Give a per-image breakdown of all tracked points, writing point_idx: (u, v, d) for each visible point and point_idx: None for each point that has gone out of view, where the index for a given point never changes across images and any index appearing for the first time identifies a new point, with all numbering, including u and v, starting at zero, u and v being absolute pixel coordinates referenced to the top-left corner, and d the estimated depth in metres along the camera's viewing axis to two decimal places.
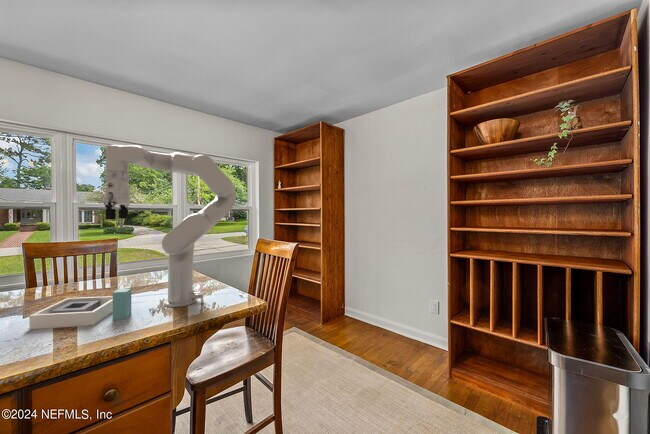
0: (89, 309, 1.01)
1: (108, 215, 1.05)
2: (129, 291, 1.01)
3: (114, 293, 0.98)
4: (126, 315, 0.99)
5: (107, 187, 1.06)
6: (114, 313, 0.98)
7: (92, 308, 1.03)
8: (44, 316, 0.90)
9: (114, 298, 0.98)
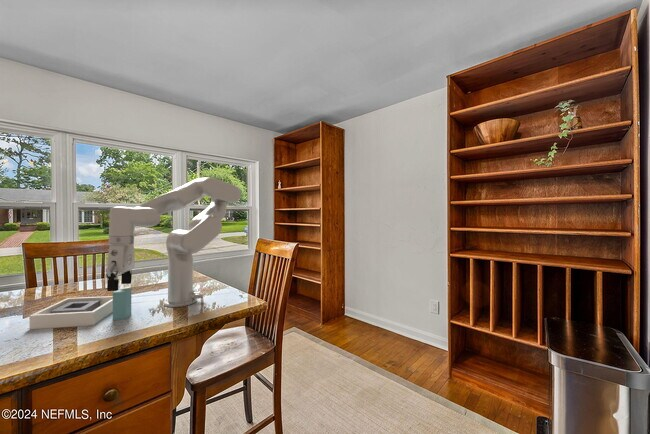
0: (89, 309, 1.01)
1: (110, 287, 0.94)
2: (129, 291, 1.01)
3: (114, 293, 0.98)
4: (126, 315, 0.99)
5: (110, 255, 0.95)
6: (114, 313, 0.98)
7: (92, 308, 1.03)
8: (44, 316, 0.90)
9: (114, 298, 0.98)
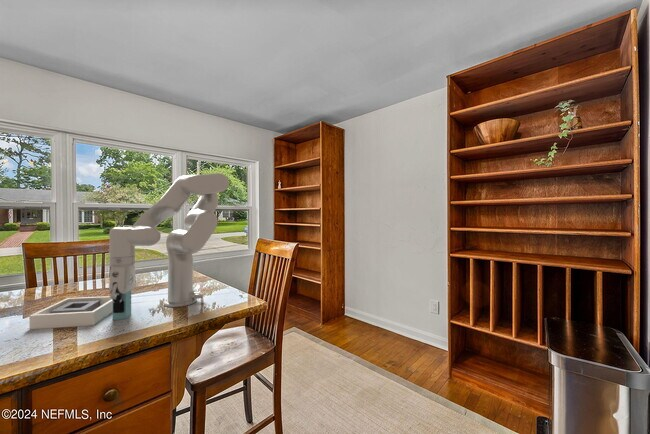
0: (89, 309, 1.01)
1: (116, 309, 0.97)
2: (129, 291, 1.01)
3: None
4: (126, 315, 0.99)
5: (111, 277, 0.95)
6: (114, 313, 0.98)
7: (92, 308, 1.03)
8: (44, 316, 0.90)
9: None
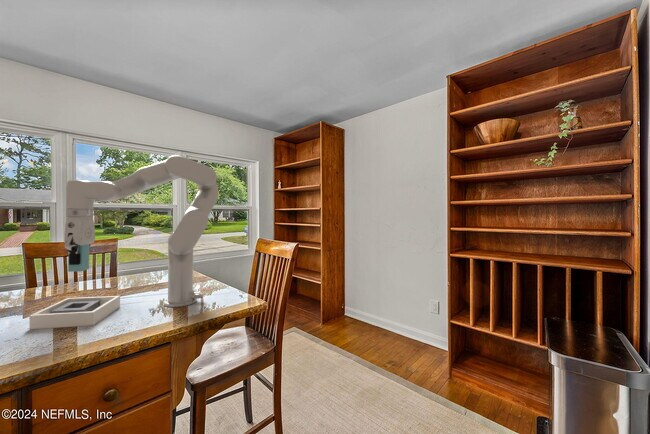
0: (89, 309, 1.01)
1: (72, 260, 0.97)
2: (86, 245, 1.02)
3: None
4: (82, 268, 1.00)
5: (67, 227, 0.95)
6: (70, 265, 0.98)
7: (92, 308, 1.03)
8: (44, 316, 0.90)
9: None
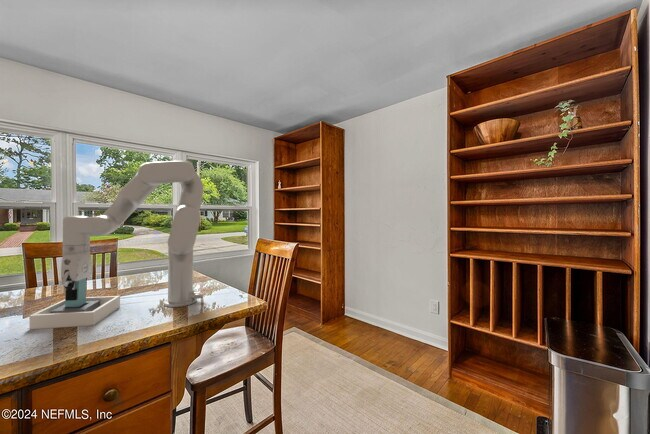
0: (89, 309, 1.01)
1: (68, 296, 0.98)
2: (83, 279, 1.02)
3: None
4: (79, 303, 1.00)
5: (63, 264, 0.96)
6: None
7: (92, 308, 1.03)
8: (44, 316, 0.90)
9: None
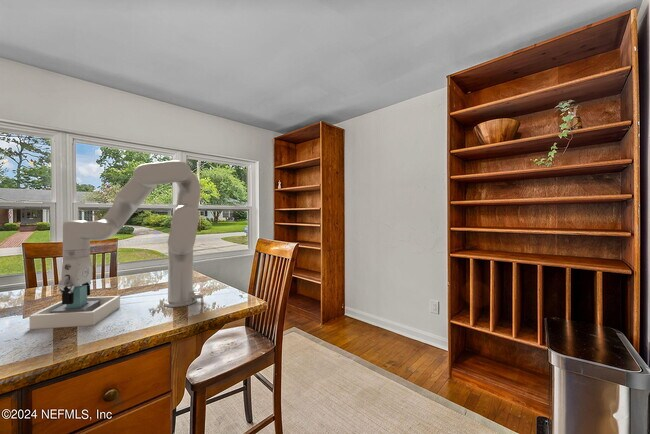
0: (89, 309, 1.01)
1: (65, 300, 0.96)
2: (84, 287, 1.02)
3: None
4: None
5: (63, 269, 0.96)
6: None
7: (92, 308, 1.03)
8: (44, 316, 0.90)
9: None
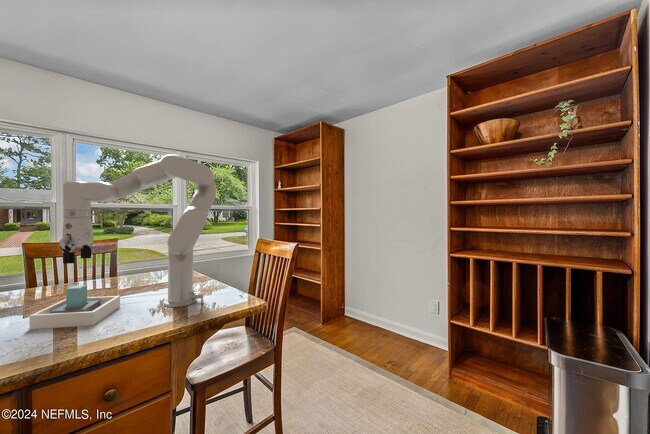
0: (89, 309, 1.01)
1: (66, 259, 0.95)
2: (84, 287, 1.02)
3: (68, 289, 0.99)
4: None
5: (64, 228, 0.96)
6: None
7: (92, 308, 1.03)
8: (44, 316, 0.90)
9: (68, 294, 0.99)
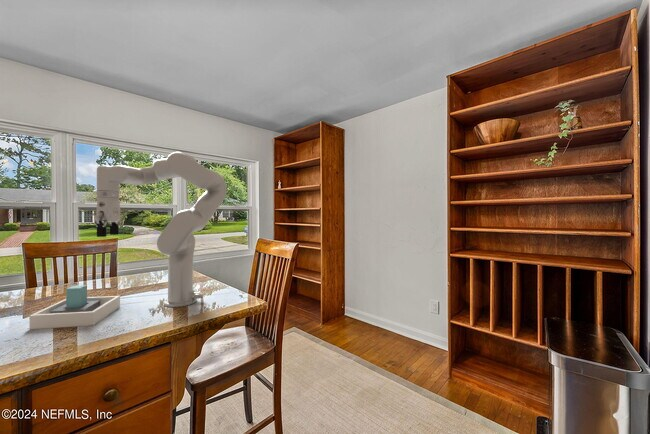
0: (89, 309, 1.01)
1: (99, 233, 1.10)
2: (84, 287, 1.02)
3: (68, 289, 0.99)
4: None
5: (98, 206, 1.11)
6: None
7: (92, 308, 1.03)
8: (44, 316, 0.90)
9: (68, 294, 0.99)
